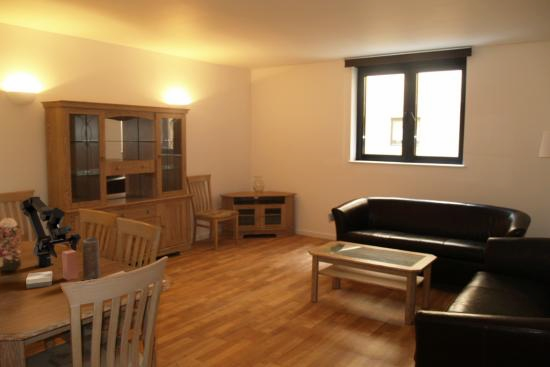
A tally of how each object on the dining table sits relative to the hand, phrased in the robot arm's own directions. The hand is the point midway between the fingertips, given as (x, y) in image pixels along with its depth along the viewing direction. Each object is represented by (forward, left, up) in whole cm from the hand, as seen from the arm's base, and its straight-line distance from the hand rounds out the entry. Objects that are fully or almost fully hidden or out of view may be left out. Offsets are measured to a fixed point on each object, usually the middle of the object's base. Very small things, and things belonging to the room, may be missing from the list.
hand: (66, 255), depth 219 cm
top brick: (+3, -1, -10) cm, 11 cm away
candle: (+15, +1, -11) cm, 19 cm away
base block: (-3, -13, -10) cm, 17 cm away
